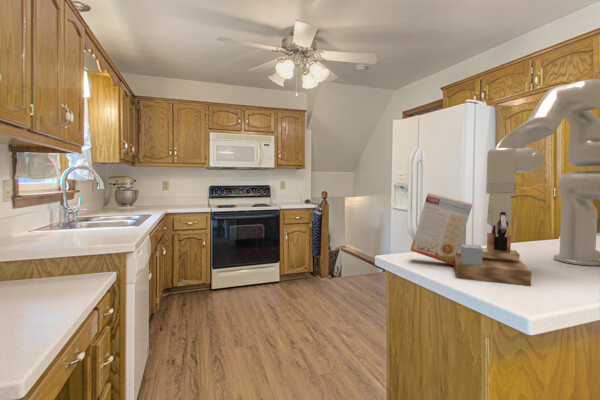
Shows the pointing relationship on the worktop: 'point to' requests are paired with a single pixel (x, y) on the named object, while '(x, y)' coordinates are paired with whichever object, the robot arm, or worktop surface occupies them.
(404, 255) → the worktop surface
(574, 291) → the worktop surface
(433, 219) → the cracker box
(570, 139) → the robot arm
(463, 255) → the grey-blue cube
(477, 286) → the worktop surface
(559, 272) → the worktop surface
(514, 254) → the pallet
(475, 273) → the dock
